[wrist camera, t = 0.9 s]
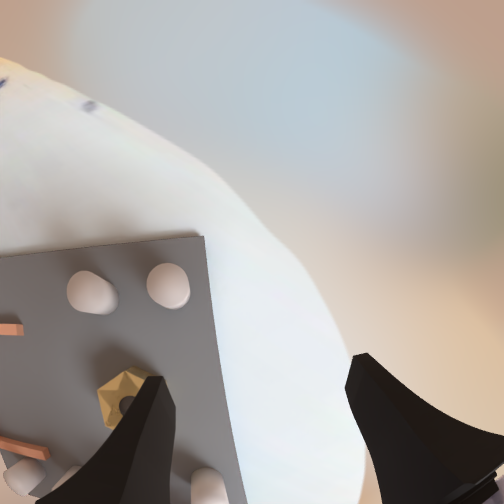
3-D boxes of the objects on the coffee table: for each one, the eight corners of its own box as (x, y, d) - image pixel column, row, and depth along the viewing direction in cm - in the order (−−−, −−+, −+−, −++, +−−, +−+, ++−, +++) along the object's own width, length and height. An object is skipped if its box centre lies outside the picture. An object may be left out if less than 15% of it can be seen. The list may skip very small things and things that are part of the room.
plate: (246, 503, 18) (258, 534, 13) (21, 487, 13) (-1, 505, 8) (203, 239, 25) (206, 215, 19) (-21, 263, 19) (-51, 250, 14)
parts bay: (50, 456, 15) (45, 460, 14) (-4, 442, 13) (-9, 444, 12) (23, 324, 18) (16, 324, 17) (-27, 323, 16) (-34, 322, 15)
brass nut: (176, 428, 19) (173, 442, 16) (119, 430, 18) (109, 443, 15) (163, 363, 20) (158, 368, 17) (105, 366, 19) (93, 371, 16)
